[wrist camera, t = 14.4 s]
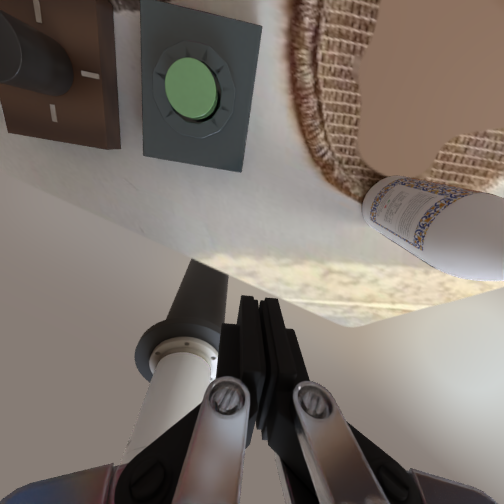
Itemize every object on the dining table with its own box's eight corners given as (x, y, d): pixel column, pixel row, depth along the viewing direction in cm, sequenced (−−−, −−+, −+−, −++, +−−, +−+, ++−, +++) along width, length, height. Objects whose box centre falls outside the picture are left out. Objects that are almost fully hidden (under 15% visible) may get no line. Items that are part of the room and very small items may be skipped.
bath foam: (423, 205, 31) (691, 298, 12) (375, 238, 32) (550, 362, 14) (400, 162, 28) (691, 197, 10) (350, 200, 30) (521, 289, 12)
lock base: (121, 149, 26) (106, 149, 23) (32, 133, 25) (6, 132, 22) (112, 5, 21) (93, -16, 18) (3, -20, 20) (-36, -47, 17)
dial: (50, 23, 19) (-20, -21, 14) (84, 85, 21) (32, 65, 16) (6, 45, 20) (-80, 10, 15) (42, 103, 22) (-22, 91, 16)
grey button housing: (241, 169, 28) (241, 174, 23) (153, 154, 27) (135, 156, 22) (259, 40, 23) (264, 15, 18) (152, 15, 22) (129, -19, 17)
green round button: (215, 123, 22) (213, 121, 20) (170, 115, 21) (164, 112, 19) (220, 70, 20) (218, 63, 18) (172, 60, 19) (164, 51, 18)
